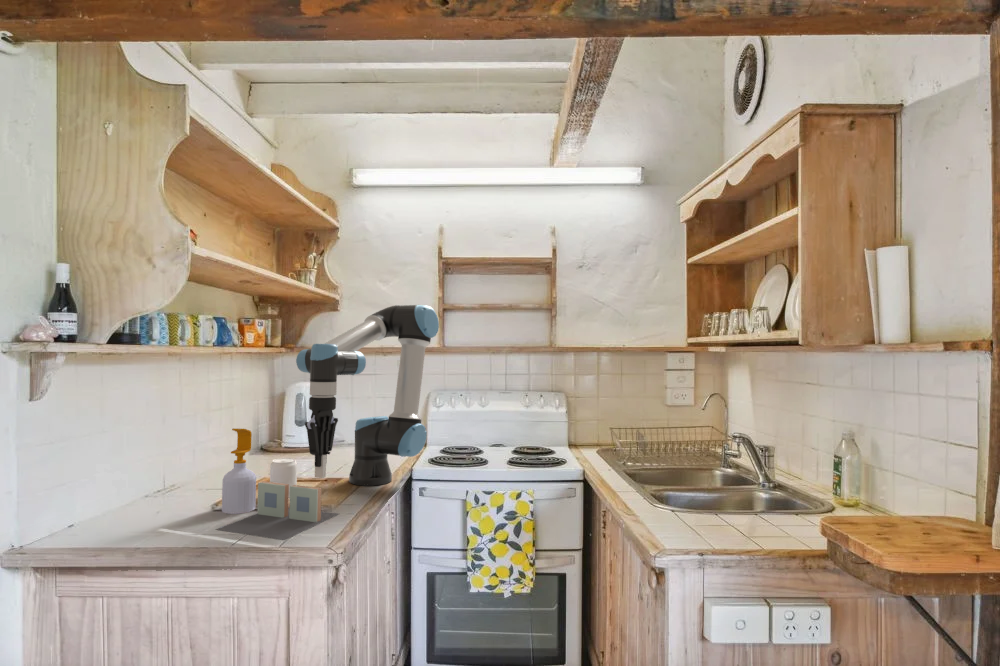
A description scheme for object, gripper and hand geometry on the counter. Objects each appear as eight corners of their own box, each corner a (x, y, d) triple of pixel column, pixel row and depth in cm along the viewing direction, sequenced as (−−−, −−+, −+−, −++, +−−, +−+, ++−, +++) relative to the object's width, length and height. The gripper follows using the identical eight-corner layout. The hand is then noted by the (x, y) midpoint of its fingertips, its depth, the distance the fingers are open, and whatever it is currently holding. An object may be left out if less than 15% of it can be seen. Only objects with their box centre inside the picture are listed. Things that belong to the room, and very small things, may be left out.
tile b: (262, 512, 170) (263, 481, 170) (288, 515, 167) (288, 484, 167) (257, 514, 168) (257, 482, 168) (283, 517, 165) (283, 485, 165)
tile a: (293, 516, 166) (294, 484, 166) (320, 520, 163) (321, 488, 164) (288, 518, 164) (289, 486, 164) (315, 522, 161) (316, 489, 161)
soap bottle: (216, 515, 168) (218, 429, 168) (230, 506, 177) (232, 425, 177) (247, 516, 168) (249, 430, 168) (260, 507, 177) (262, 425, 177)
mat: (277, 507, 177) (277, 505, 177) (339, 516, 170) (339, 514, 170) (215, 531, 154) (215, 529, 154) (284, 542, 147) (284, 540, 147)
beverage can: (263, 499, 185) (264, 461, 186) (281, 493, 193) (282, 456, 193) (285, 502, 183) (285, 463, 183) (301, 495, 191) (302, 458, 191)
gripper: (325, 394, 178) (322, 471, 178) (297, 397, 166) (294, 480, 165) (346, 395, 176) (344, 474, 175) (320, 398, 164) (317, 483, 163)
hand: (320, 477), depth 170 cm, fingers closed
